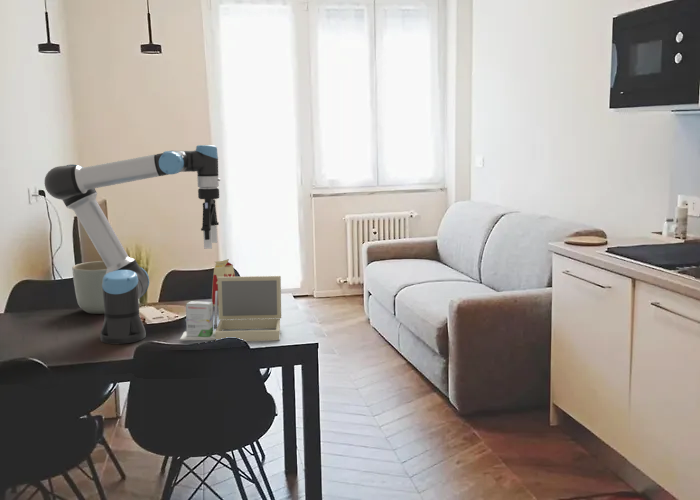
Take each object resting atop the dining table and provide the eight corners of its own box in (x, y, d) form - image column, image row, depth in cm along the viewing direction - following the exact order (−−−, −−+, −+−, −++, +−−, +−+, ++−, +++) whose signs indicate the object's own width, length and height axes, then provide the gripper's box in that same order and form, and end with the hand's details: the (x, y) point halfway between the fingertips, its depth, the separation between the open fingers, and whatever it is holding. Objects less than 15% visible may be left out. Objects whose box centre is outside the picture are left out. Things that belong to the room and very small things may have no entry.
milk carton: (240, 304, 286) (239, 258, 283) (225, 308, 278) (224, 261, 275) (224, 301, 291) (223, 256, 287) (209, 305, 283) (207, 259, 280)
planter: (98, 320, 260) (95, 272, 257) (64, 312, 271) (61, 266, 268) (140, 308, 278) (137, 263, 275) (107, 302, 289) (104, 259, 285)
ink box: (186, 336, 237) (184, 303, 235) (190, 332, 242) (189, 300, 240) (209, 337, 236) (208, 304, 234) (214, 332, 241) (213, 301, 239)
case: (211, 341, 232) (209, 286, 229) (217, 328, 249) (215, 276, 246) (280, 340, 234) (279, 285, 231) (281, 326, 251) (280, 275, 248)
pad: (180, 340, 234) (180, 338, 234) (184, 333, 243) (184, 331, 243) (217, 339, 235) (217, 337, 235) (220, 332, 244) (220, 330, 244)
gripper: (213, 190, 231) (216, 250, 235) (223, 185, 256) (225, 240, 259) (192, 190, 231) (194, 251, 234) (203, 185, 255) (205, 240, 259)
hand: (210, 245), depth 247 cm, fingers open, 13 cm apart
